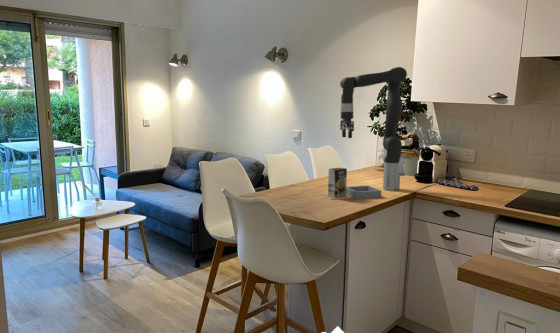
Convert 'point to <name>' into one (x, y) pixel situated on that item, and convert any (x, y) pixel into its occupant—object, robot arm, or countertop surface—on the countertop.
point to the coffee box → (337, 182)
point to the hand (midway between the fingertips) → (346, 137)
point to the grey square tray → (363, 192)
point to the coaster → (337, 197)
